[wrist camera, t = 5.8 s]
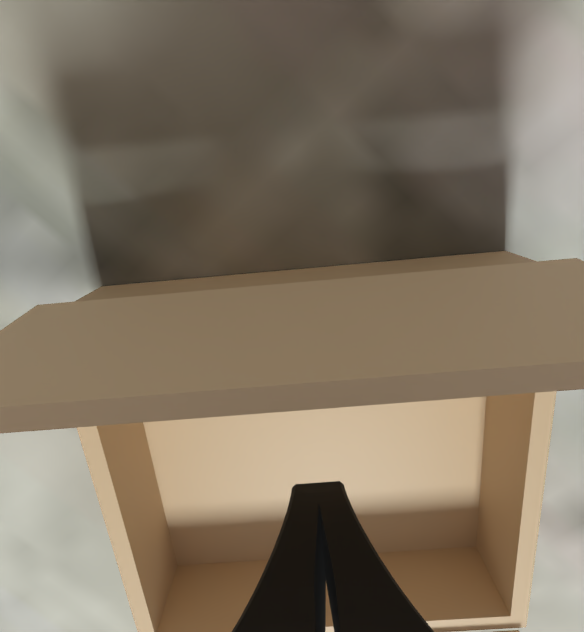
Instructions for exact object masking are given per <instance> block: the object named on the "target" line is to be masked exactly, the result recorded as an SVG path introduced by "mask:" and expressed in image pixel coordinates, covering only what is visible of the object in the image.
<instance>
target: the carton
mask: <svg viewBox="0 0 584 632" xmlns="http://www.w3.org/2000/svg"><path fill="white" fill-rule="evenodd" d="M527 262H537V261H534V260H531V259H528V258H525V257H522V256H519V255H516V254H513V253H510V252H508V251H498V252H487V253H475V254H464V255H452V256H441V257H430V258H418V259H407V260H396V261H384V262H373V263H362V264H350V265H339V266H327V267H316V268H305V269H293V270H282V271H271V272H259V273H248V274H237V275H225V276H214V277H202V278H191V279H180V280H168V281H157V282H146V283H134V284H123V285H112V286H102V287H100V288H98V289H96V290H94V291H93V292H91V293H89V294H87V295H85V296H84V297H82V298H80V299H78V300H77V301H75V302H78V301H89V300H101V299H112V298H124V297H135V296H147V295H158V294H170V293H181V292H193V291H204V290H216V289H227V288H239V287H250V286H262V285H273V284H285V283H296V282H308V281H319V280H331V279H342V278H354V277H365V276H377V275H388V274H400V273H411V272H423V271H434V270H446V269H458V268H469V267H481V266H492V265H504V264H515V263H527ZM555 399H556V391H551V392H538V393H525V394H511V395H498V396H485V397H472V398H459V399H446V400H432V401H419V402H406V403H393V404H380V405H367V406H353V407H340V408H327V409H314V410H301V411H288V412H274V413H261V414H248V415H235V416H222V417H208V418H195V419H182V420H169V421H156V422H143V423H129V424H116V425H103V426H90V427H77V430H78V434H79V437H80V440H81V444H82V447H83V450H84V454H85V457H86V460H87V464H88V467H89V470H90V474H91V477H92V481H93V484H94V487H95V491H96V494H97V497H98V501H99V504H100V507H101V511H102V514H103V517H104V521H105V524H106V527H107V531H108V534H109V537H110V541H111V544H112V547H113V551H114V554H115V557H116V561H117V564H118V567H119V571H120V574H121V577H122V581H123V584H124V587H125V591H126V594H127V597H128V601H129V604H130V607H131V611H132V614H133V618H134V621H135V624H136V628H137V631H138V632H232V630H233V629H234V627H235V625H236V624H237V622H238V620H239V618H240V617H241V615H242V613H243V611H244V609H245V607H246V606H247V604H248V602H249V600H250V598H251V596H252V594H253V592H254V590H255V588H256V586H257V584H258V582H259V580H260V578H261V576H262V573H263V571H264V569H265V567H266V565H267V562H268V560H269V558H270V556H271V553H272V551H273V548H274V546H275V543H276V541H277V538H278V535H279V533H280V530H281V527H282V524H283V521H284V518H285V515H286V512H287V508H288V505H289V501H290V496H291V491H292V487H293V486H294V485H295V484H306V483H320V482H334V481H340V482H341V483H343V484H344V487H345V491H346V493H347V496H348V499H349V501H350V503H351V506H352V508H353V510H354V512H355V514H356V516H357V518H358V520H359V522H360V524H361V526H362V528H363V529H364V531H365V533H366V535H367V536H368V538H369V540H370V542H371V543H372V545H373V547H374V549H375V550H376V552H377V554H378V555H379V557H380V558H381V560H382V561H383V563H384V565H385V566H386V568H387V569H388V571H389V572H390V574H391V575H392V577H393V578H394V580H395V581H396V582H397V584H398V585H399V587H400V588H401V590H402V591H403V592H404V594H405V595H406V596H407V598H408V599H409V600H410V602H411V603H412V604H413V606H414V607H415V608H416V610H417V611H418V612H419V613H420V615H421V616H422V617H423V618H424V620H425V621H426V622H427V623H428V625H429V626H430V627H431V628H432V630H433V631H434V632H450V631H467V630H485V629H503V628H521V627H526V624H527V617H528V609H529V601H530V593H531V586H532V578H533V570H534V562H535V554H536V547H537V539H538V531H539V523H540V516H541V508H542V500H543V492H544V484H545V477H546V469H547V461H548V453H549V445H550V438H551V430H552V422H553V414H554V407H555ZM325 632H334V627H333V621H332V615H331V609H330V602H329V596H328V590H327V584H326V631H325Z"/></svg>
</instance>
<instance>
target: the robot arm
mask: <svg viewBox="0 0 584 632" xmlns="http://www.w3.org/2000/svg"><path fill="white" fill-rule="evenodd" d="M326 584H327V590H328V596H329V602H330V609H331V615H332V621H333V627H334V632H434V631H433V630H432V628H431V627H430V626H429V625H428V623H427V622H426V621H425V620H424V618H423V617H422V616H421V615H420V613H419V612H418V611H417V610H416V608H415V607H414V606H413V604H412V603H411V602H410V600H409V599H408V598H407V596H406V595H405V594H404V592H403V591H402V590H401V588H400V587H399V585H398V584H397V582H396V581H395V580H394V578H393V577H392V575H391V574H390V572H389V571H388V569H387V568H386V566H385V565H384V563H383V561H382V560H381V558H380V557H379V555H378V554H377V552H376V550H375V549H374V547H373V545H372V543H371V542H370V540H369V538H368V536H367V535H366V533H365V531H364V529H363V528H362V526H361V524H360V522H359V520H358V518H357V516H356V514H355V512H354V510H353V508H352V506H351V503H350V501H349V499H348V496H347V493H346V491H345V487H344V484H343V483H341V482H340V481H334V482H320V483H306V484H295V485H294V486H293V487H292V491H291V496H290V501H289V505H288V508H287V512H286V515H285V518H284V521H283V524H282V527H281V530H280V533H279V535H278V538H277V541H276V543H275V546H274V548H273V551H272V553H271V556H270V558H269V560H268V562H267V565H266V567H265V569H264V571H263V573H262V576H261V578H260V580H259V582H258V584H257V586H256V588H255V590H254V592H253V594H252V596H251V598H250V600H249V602H248V604H247V606H246V607H245V609H244V611H243V613H242V615H241V617H240V618H239V620H238V622H237V624H236V625H235V627H234V629H233V630H232V632H325V631H326Z"/></svg>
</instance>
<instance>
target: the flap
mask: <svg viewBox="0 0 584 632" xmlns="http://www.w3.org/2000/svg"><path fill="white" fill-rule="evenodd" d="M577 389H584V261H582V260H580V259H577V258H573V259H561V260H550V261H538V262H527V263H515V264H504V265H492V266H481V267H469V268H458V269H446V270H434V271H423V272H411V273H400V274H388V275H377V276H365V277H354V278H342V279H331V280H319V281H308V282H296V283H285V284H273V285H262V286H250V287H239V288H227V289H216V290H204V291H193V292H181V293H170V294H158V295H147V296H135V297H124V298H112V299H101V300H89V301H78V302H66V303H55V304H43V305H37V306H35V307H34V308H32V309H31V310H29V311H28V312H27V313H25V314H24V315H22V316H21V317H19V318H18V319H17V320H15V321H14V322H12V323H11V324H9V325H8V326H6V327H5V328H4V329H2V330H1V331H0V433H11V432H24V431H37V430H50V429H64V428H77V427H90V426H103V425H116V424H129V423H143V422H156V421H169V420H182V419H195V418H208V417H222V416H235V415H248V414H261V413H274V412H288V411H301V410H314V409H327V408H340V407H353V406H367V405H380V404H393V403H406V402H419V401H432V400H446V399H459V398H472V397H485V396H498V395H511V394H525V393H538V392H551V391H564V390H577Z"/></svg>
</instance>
